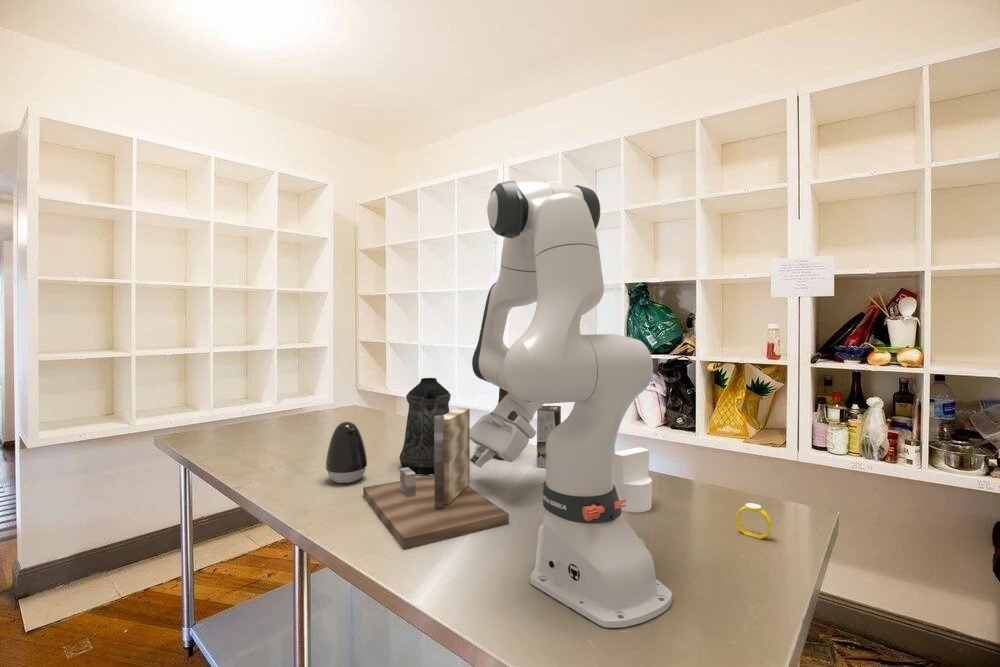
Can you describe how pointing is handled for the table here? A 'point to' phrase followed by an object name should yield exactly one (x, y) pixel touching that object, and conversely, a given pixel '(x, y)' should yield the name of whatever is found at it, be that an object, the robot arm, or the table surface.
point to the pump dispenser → (346, 454)
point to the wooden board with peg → (430, 510)
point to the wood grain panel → (451, 455)
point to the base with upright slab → (633, 479)
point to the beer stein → (423, 425)
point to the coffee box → (546, 429)
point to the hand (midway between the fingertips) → (474, 464)
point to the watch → (753, 508)
